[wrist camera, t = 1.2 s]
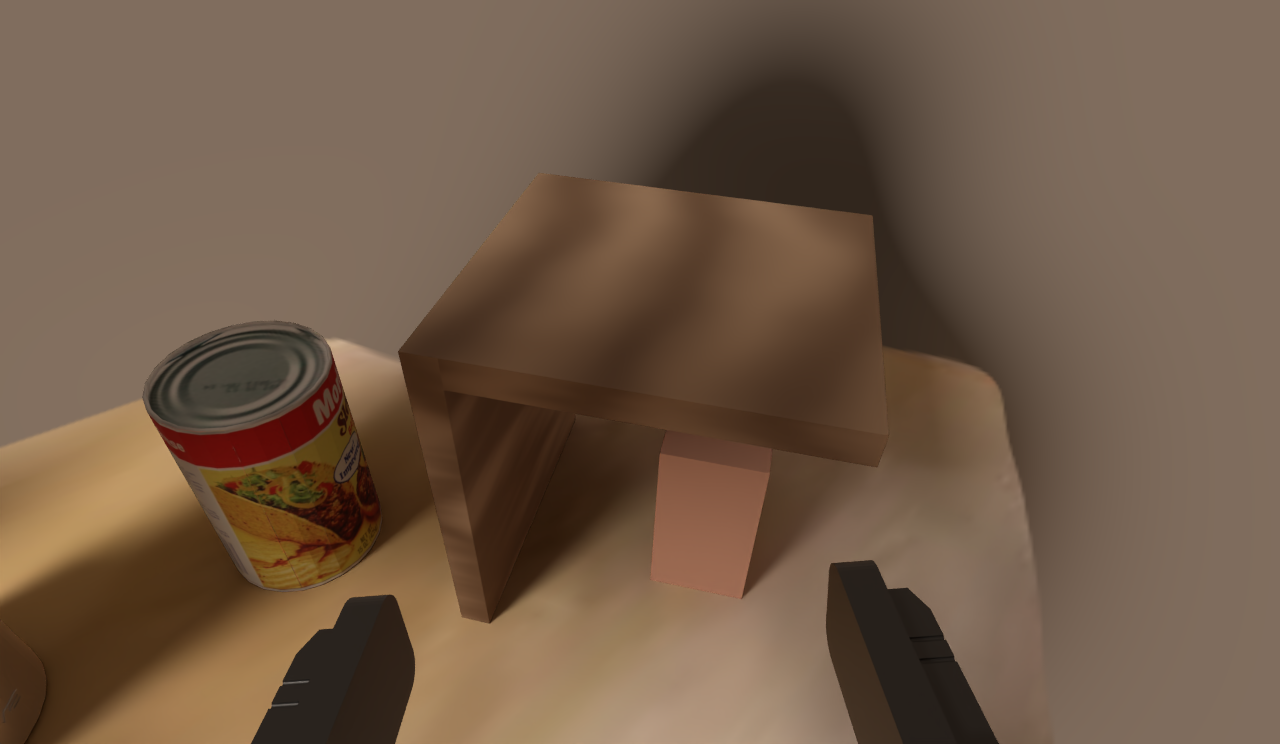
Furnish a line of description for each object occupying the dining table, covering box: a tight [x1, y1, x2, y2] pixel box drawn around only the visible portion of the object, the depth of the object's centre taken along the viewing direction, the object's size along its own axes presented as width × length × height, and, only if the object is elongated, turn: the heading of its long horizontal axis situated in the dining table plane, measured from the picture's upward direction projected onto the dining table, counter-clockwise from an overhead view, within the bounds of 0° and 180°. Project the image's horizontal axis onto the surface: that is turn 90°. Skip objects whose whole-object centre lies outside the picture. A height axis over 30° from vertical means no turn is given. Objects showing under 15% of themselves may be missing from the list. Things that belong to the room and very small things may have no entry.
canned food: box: [142, 321, 382, 592], centre depth 36 cm, size 8×8×12 cm
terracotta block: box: [650, 430, 772, 599], centre depth 37 cm, size 5×5×10 cm
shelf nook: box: [398, 173, 889, 623], centre depth 35 cm, size 17×16×18 cm
